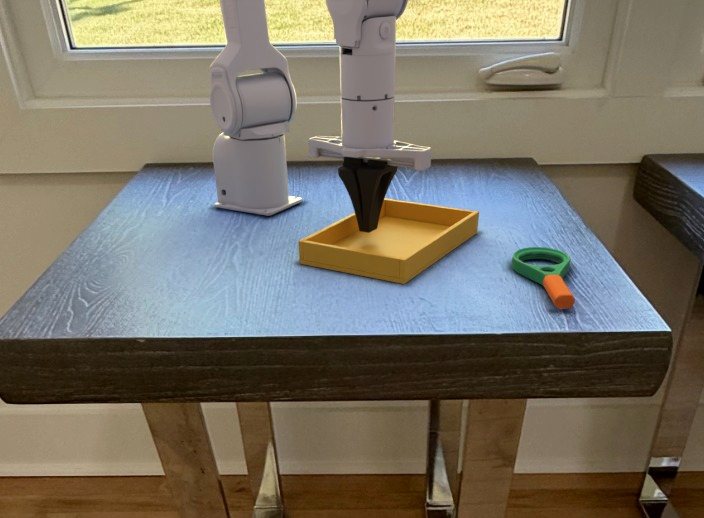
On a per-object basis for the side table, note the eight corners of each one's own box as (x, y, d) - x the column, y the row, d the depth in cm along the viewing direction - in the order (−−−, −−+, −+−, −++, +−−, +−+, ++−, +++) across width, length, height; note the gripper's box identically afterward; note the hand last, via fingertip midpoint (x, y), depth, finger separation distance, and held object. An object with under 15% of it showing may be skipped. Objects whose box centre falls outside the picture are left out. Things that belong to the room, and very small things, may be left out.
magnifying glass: (507, 258, 79) (508, 242, 78) (561, 257, 79) (564, 241, 78) (531, 312, 67) (533, 295, 66) (595, 312, 67) (598, 294, 66)
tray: (299, 263, 79) (298, 240, 77) (383, 218, 91) (383, 197, 90) (404, 284, 73) (404, 260, 72) (477, 232, 86) (479, 211, 84)
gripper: (289, 98, 75) (298, 230, 83) (411, 107, 69) (407, 249, 77) (325, 88, 79) (330, 214, 88) (442, 96, 73) (435, 231, 82)
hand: (368, 229), depth 83 cm, fingers closed
